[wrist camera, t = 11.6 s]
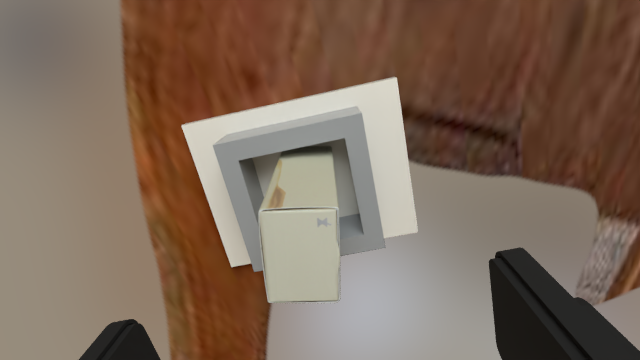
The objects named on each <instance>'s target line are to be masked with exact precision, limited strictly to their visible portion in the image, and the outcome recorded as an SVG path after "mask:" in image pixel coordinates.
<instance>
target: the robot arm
mask: <svg viewBox="0 0 640 360" xmlns="http://www.w3.org/2000/svg"><path fill="white" fill-rule="evenodd" d="M489 269H490V280H491V291H492V301H493V312H494V324H495V334H496V343H497V348H498V351H499V354H500V356H501V358H502V360H640V351H639V350H638V349H637V348H636V347H635V346H633V344H631V343H630V342H629V341H628V340H627V339H626V338H625V337H624V336H623V335H622V334H621V333H620V332H619V331H618V330H617V329H616V328H615V327H614V326H613V325H611V324H610V323H609V322H608V321H607V320H606V319H605V318H604V317H603V316H602V315H601V314H600V313H599V312H598V311H597V310H596V309H595V308H594V307H593V306H592V305H591V304H589V303H588V302H587V301H585V300H584V299H582V298H579V297H577V298H573V297H572V296H571V295H570V294H569V293H568V292H567V291H566V290H565V289H564V288H563V287H562V286H561V285H560V284H559V283H558V282H557V281H556V280H555V279H554V278H553V277H552V276H551V275H550V274H549V273H548V272H547V271H546V270H545V269H544V268H543V267H542V266H541V265H540V264H539V263H538V262H537V261H536V260H535V259H534V258H533V257H532V256H531V255H530V254H529V253H528V252H527V251H525V250H524V249H523V248H515V249H510V250H504V251H499V252H497V253H496V255H495V259H490V261H489ZM79 360H160V358H159V356H158V354H157V352H156V350H155V348H154V346H153V344H152V342H151V340H150V338H149V336H148V334H147V333H146V331H145V329H144V327H143V326H142V325H141V324H138V322H137V321H136V320H134V319H129V320H124V321H118V322H113V323H111V324H109V325H108V326H107V327H106V328H105V329H104V330H103V331H102V333H101V334H100V335H99V336H98V337H97V339H96V340H95V341H94V342H93V343H92V344H91V346H90V347H89V348H88V349H87V350H86V352H85V353H84V354H83V355H82V356H81V358H80V359H79Z"/></svg>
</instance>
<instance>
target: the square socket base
mask: <svg viewBox="0 0 640 360" xmlns="http://www.w3.org/2000/svg"><path fill="white" fill-rule="evenodd" d="M181 126H182V129H183V131H184V134H185V137H186V140H187V143H188V146H189V149H190V151H191V154H192V157H193V160H194V163H195V166H196V168H197V171H198V174H199V177H200V180H201V183H202V185H203V188H204V191H205V194H206V197H207V200H208V202H209V205H210V208H211V211H212V214H213V217H214V219H215V222H216V225H217V228H218V231H219V234H220V236H221V239H222V242H223V245H224V248H225V251H226V253H227V256H228V259H229V262H230V265H231V267H235V266H240V265H246V264H252V267H253V270H254V272H257V271H262V270H263V265H262V257H261V248H260V238H259V222H258V212H259V209H260V206H261V204H262V202H263V199H264V197H265V194H266V191H267V189H268V186H269V183H270V181H271V178H272V176H273V173H274V170H275V168H276V165H277V163H278V160H279V157H280V155H281V152H282V151H286V150H291V149H295V148H300V147H305V146H331V147H332V153H333V162H334V171H335V179H336V186H337V196H338V205H339V230H340V256H343V255H348V254H354V253H359V252H365V251H370V250H376V249H381V248H385V242H384V238H389V237H395V236H400V235H406V234H411V233H416V232H418V228H417V222H416V214H415V206H414V199H413V192H412V184H411V177H410V170H409V163H408V155H407V148H406V141H405V134H404V126H403V119H402V112H401V105H400V97H399V90H398V83H397V77H392V78H387V79H383V80H378V81H374V82H369V83H365V84H360V85H356V86H351V87H347V88H342V89H338V90H334V91H329V92H325V93H320V94H316V95H311V96H307V97H302V98H298V99H293V100H289V101H284V102H280V103H275V104H271V105H266V106H262V107H257V108H253V109H248V110H244V111H240V112H235V113H231V114H226V115H222V116H217V117H213V118H208V119H204V120H199V121H195V122H190V123H186V124H184V125H181Z"/></svg>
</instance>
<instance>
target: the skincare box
mask: <svg viewBox="0 0 640 360" xmlns="http://www.w3.org/2000/svg"><path fill="white" fill-rule="evenodd" d="M258 222H259V238H260V248H261V257H262V265H263V273H264V280H265V286H266V293H267V299H268V302H269V303H337V302H339V301H340V230H339V205H338V196H337V186H336V179H335V171H334V162H333V153H332V147H331V146H305V147H300V148H295V149H291V150H286V151H282V152H281V155H280V157H279V160H278V163H277V165H276V168H275V170H274V173H273V176H272V178H271V181H270V183H269V186H268V189H267V191H266V194H265V197H264V199H263V202H262V204H261V206H260V209H259V212H258Z"/></svg>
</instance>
